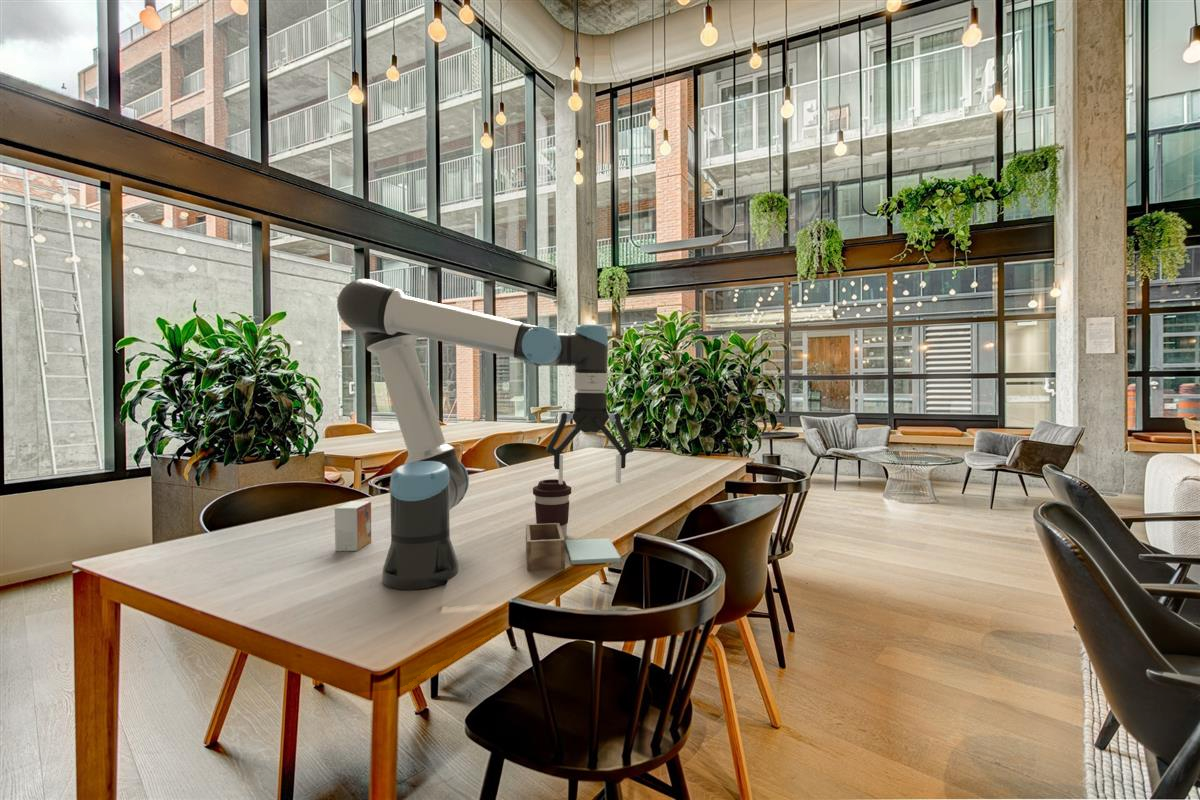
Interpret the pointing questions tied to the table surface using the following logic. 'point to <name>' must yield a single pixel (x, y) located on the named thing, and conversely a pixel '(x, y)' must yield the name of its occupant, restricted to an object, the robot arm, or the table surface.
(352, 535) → the small box
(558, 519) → the coffee cup
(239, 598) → the table surface
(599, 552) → the lid
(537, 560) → the box
